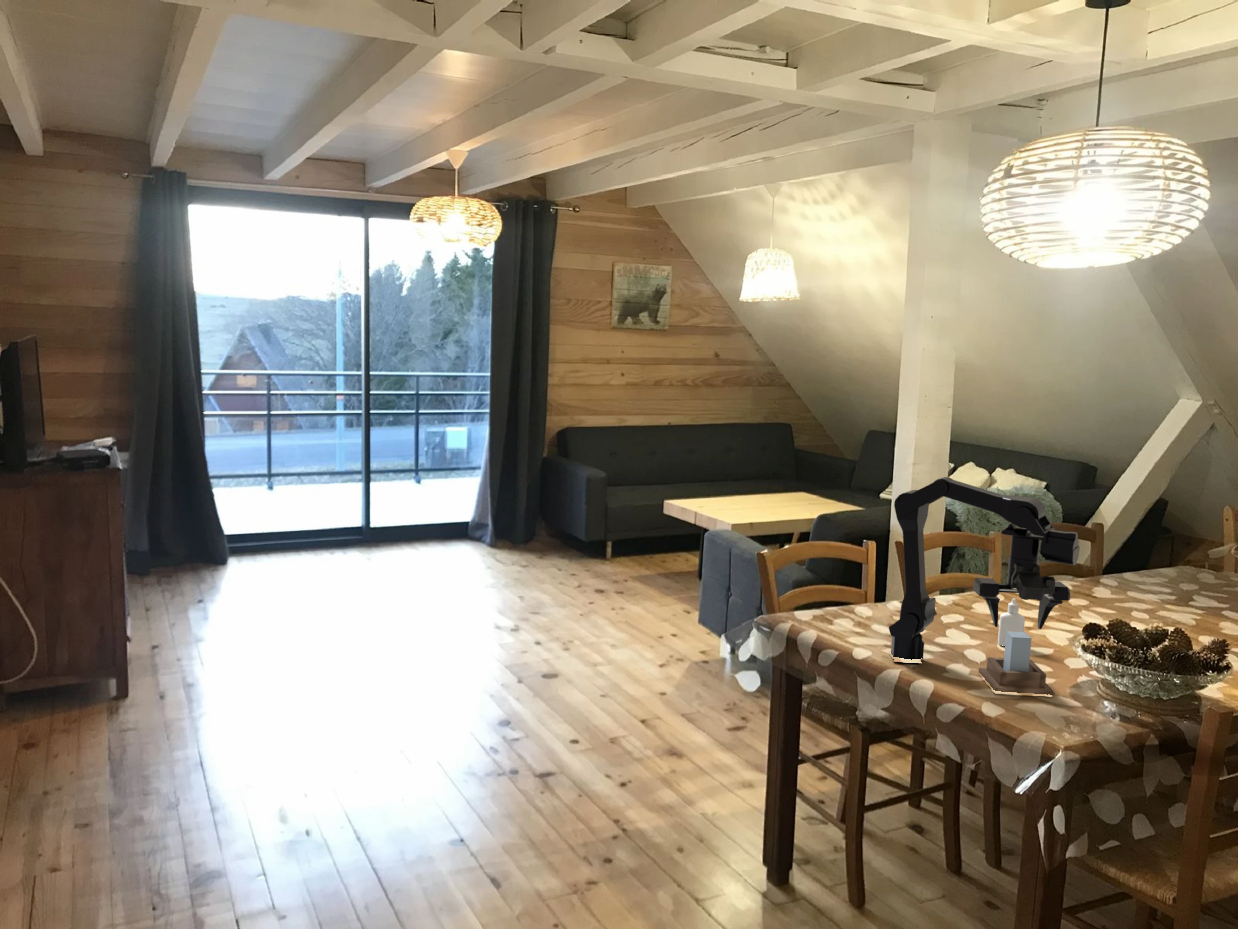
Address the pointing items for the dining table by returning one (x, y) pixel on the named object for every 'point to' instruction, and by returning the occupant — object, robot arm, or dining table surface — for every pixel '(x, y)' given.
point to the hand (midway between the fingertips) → (1017, 627)
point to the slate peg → (1017, 651)
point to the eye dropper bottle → (1010, 622)
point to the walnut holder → (1015, 678)
